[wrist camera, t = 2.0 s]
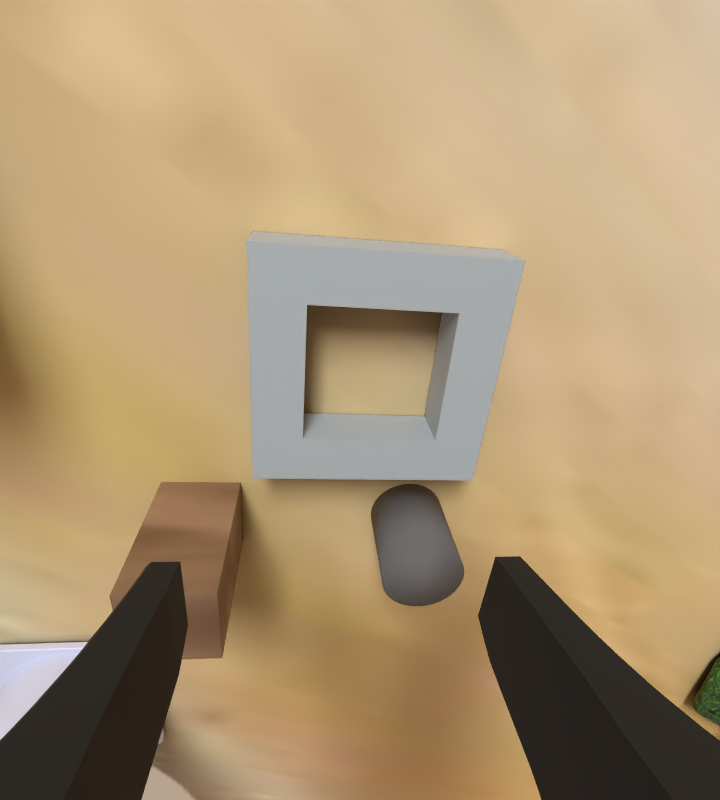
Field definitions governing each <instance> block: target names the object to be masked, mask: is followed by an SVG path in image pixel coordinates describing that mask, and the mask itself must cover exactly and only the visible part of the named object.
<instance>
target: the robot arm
mask: <svg viewBox="0 0 720 800" xmlns="http://www.w3.org/2000/svg"><path fill="white" fill-rule="evenodd" d="M478 617H479V621H480V625H481V629H482V633H483V637H484V641H485V645H486V648H487V652H488V656H489V659H490V662H491V665H492V668H493V671H494V673H495V676H496V679H497V681H498V684H499V687H500V689H501V692H502V695H503V697H504V700H505V702H506V705H507V708H508V710H509V713H510V715H511V718H512V720H513V723H514V726H515V728H516V731H517V733H518V736H519V739H520V741H521V744H522V746H523V749H524V752H525V754H526V757H527V759H528V762H529V765H530V767H531V770H532V773H533V776H534V779H535V781H536V784H537V787H538V790H539V793H540V796H541V800H720V741H719V740H718V739H717V738H715V737H714V736H713V735H712V734H710V733H709V732H708V731H706V730H705V729H704V728H703V727H701V726H700V725H699V724H697V723H696V722H695V721H694V720H693V719H691V718H690V717H689V716H688V715H686V714H685V713H684V712H683V711H682V710H680V709H679V708H678V707H677V706H675V705H674V704H673V703H672V702H671V701H669V700H668V699H667V698H666V697H664V696H663V695H662V694H661V693H660V692H659V691H657V690H656V689H655V688H654V687H653V686H652V685H651V684H649V683H648V682H647V681H646V680H645V679H644V678H643V677H642V676H640V675H639V674H638V673H637V672H636V671H635V670H634V669H633V668H632V667H630V666H629V665H628V664H627V663H626V662H625V661H624V660H623V659H622V658H621V657H619V656H618V655H617V654H616V653H615V652H614V651H613V650H612V649H611V648H610V647H609V646H608V645H607V644H606V643H605V642H604V641H603V640H602V639H600V638H599V637H598V636H597V635H596V634H595V633H594V632H593V631H592V630H591V629H590V628H589V627H588V626H587V625H586V624H585V623H584V622H583V621H582V620H581V619H580V618H579V617H578V616H577V615H576V614H575V613H574V612H573V611H572V610H571V609H570V608H569V607H568V606H567V605H566V604H565V603H564V602H563V601H562V600H561V598H560V597H559V596H558V595H557V594H556V593H555V592H554V591H553V590H552V589H551V588H550V587H549V586H548V585H547V584H546V583H545V582H544V581H543V580H542V579H541V578H540V577H539V576H538V575H537V574H536V573H535V571H534V570H533V569H532V568H531V567H530V566H529V565H528V564H527V563H526V562H525V561H524V560H523V559H522V558H521V557H495V560H494V564H493V567H492V570H491V574H490V577H489V581H488V584H487V587H486V591H485V594H484V598H483V601H482V604H481V608H480V611H479V615H478ZM187 629H188V619H187V611H186V603H185V594H184V586H183V578H182V570H181V562H151V563H149V564H148V565H147V566H146V567H145V569H144V570H143V571H142V573H141V574H140V576H139V577H138V578H137V580H136V581H135V582H134V584H133V585H132V587H131V588H130V589H129V591H128V592H127V593H126V595H125V596H124V597H123V599H122V600H121V601H120V603H119V604H118V605H117V606H116V608H115V609H114V610H113V612H112V613H111V614H110V615H109V617H108V618H107V619H106V621H105V622H104V623H103V624H102V626H101V627H100V628H99V629H98V630H97V632H96V633H95V634H94V635H93V637H92V638H91V639H90V640H89V642H65V643H34V644H3V645H0V800H141V799H142V795H143V792H144V788H145V785H146V782H147V779H148V776H149V772H150V769H151V766H152V762H153V759H154V756H155V752H156V749H157V746H158V745H159V744H161V743H162V742H163V738H164V730H163V726H164V722H165V719H166V716H167V712H168V709H169V706H170V702H171V699H172V696H173V692H174V689H175V685H176V682H177V679H178V675H179V670H180V665H181V660H182V655H183V650H184V645H185V639H186V634H187Z"/></svg>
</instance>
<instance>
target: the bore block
mask: <svg viewBox="0 0 720 800" xmlns="http://www.w3.org/2000/svg"><path fill="white" fill-rule="evenodd" d="M524 265H525V260H523V259H521V258H519V257H517V256H515V255H513V254H511V253H509V252H507V251H505V250H500V249H487V248H473V247H459V246H446V245H432V244H419V243H405V242H392V241H378V240H365V239H351V238H338V237H324V236H311V235H297V234H283V233H270V232H256V231H253V233H252V234H251V235H250V237H249V238H248V239H247V275H248V312H249V350H250V388H251V425H252V463H253V478H255V479H365V480H473V476H474V471H475V467H476V463H477V459H478V455H479V451H480V447H481V442H482V438H483V434H484V430H485V426H486V422H487V418H488V414H489V409H490V405H491V401H492V397H493V393H494V389H495V385H496V380H497V376H498V372H499V368H500V364H501V360H502V356H503V351H504V347H505V343H506V339H507V335H508V331H509V327H510V322H511V318H512V314H513V310H514V306H515V302H516V298H517V294H518V289H519V285H520V281H521V277H522V273H523V269H524ZM307 305H317V306H335V307H353V308H371V309H389V310H407V311H425V312H442V315H441V321H440V327H439V333H438V339H437V345H436V351H435V356H434V362H433V368H432V374H431V380H430V386H429V392H428V398H427V404H426V409H425V415H424V416H398V415H360V414H323V413H304V385H305V354H306V324H307Z"/></svg>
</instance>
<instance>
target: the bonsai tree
mask: <svg viewBox="0 0 720 800" xmlns="http://www.w3.org/2000/svg"><path fill="white" fill-rule="evenodd" d="M693 707H694V709H695V711H696V712H697V713H699V714H700V715H702V716H704V717H705V718H707V719H709V720H710V721H712V722H714V723H715V724H717V725H719V726H720V656H719V657H718V658H717V659H716V661H715V662H714V664H713V666H712V668H711V670H710V671H709V673H708V675H707V677H706V679H705V680H704V682H703V684H702V686H701V688H700V690H699V691H698V693H697V695H696V697H695V699H694V700H693Z"/></svg>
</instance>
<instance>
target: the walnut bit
mask: <svg viewBox="0 0 720 800" xmlns="http://www.w3.org/2000/svg"><path fill="white" fill-rule="evenodd" d="M242 542H243V530H242V506H241V483H212V482H161V484H160V486H159V488H158V491H157V493H156V495H155V497H154V499H153V502H152V504H151V506H150V508H149V510H148V513H147V515H146V517H145V519H144V521H143V524H142V526H141V528H140V530H139V532H138V535H137V537H136V539H135V541H134V544H133V546H132V548H131V550H130V552H129V555H128V557H127V559H126V561H125V563H124V566H123V568H122V570H121V572H120V574H119V577H118V579H117V581H116V583H115V585H114V588H113V590H112V592H111V594H110V600H111V604H112V608H113V610H114V609H115V608H116V606H117V605H118V604H119V603H120V601H121V600H122V599H123V597H124V596H125V595H126V593H127V592H128V591H129V589H130V588H131V587H132V585H133V584H134V582H135V581H136V580H137V578H138V577H139V576H140V574H141V573H142V571H143V570H144V569H145V567H146V566H147V565H148V564H149V563H151V562H181V570H182V578H183V586H184V594H185V603H186V611H187V619H188V629H187V634H186V639H185V645H184V650H183V655H182V659H205V658H222V656H223V651H224V645H225V639H226V633H227V628H228V622H229V616H230V610H231V605H232V599H233V593H234V588H235V582H236V576H237V570H238V565H239V559H240V553H241V547H242Z"/></svg>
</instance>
